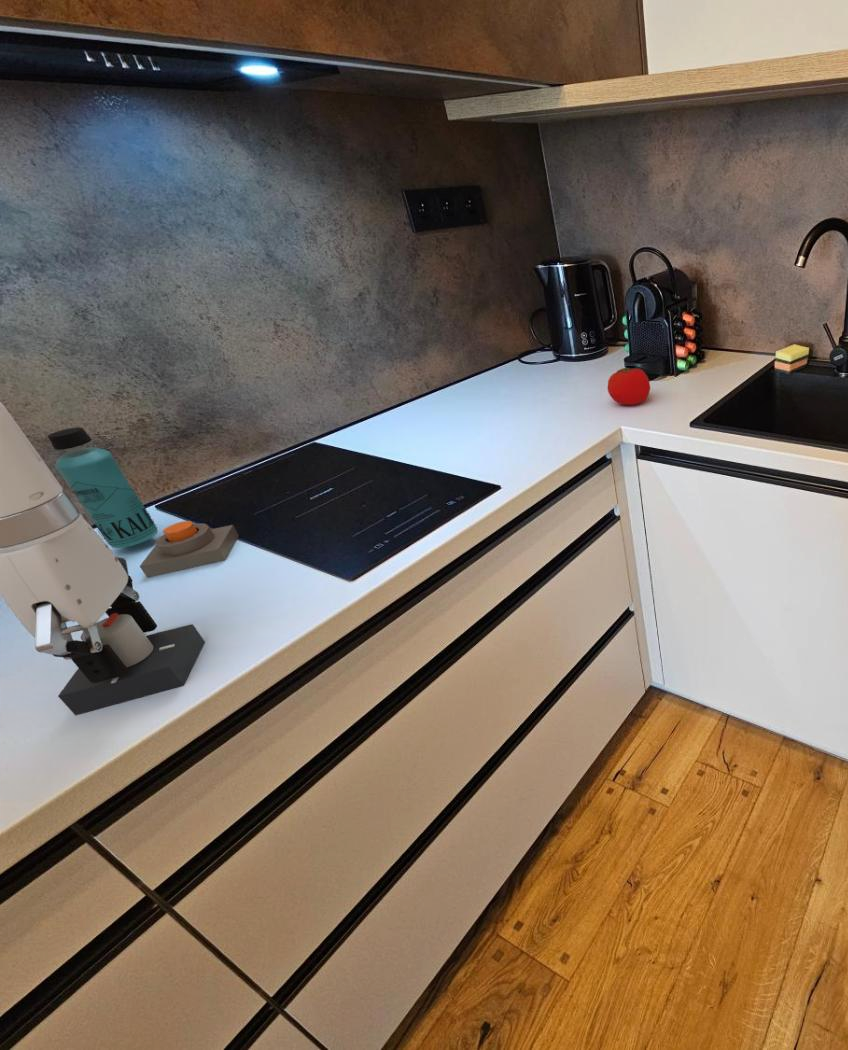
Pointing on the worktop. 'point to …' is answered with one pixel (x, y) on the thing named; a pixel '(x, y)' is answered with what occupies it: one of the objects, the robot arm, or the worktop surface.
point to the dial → (124, 638)
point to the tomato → (629, 386)
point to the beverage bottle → (102, 490)
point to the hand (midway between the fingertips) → (126, 653)
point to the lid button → (180, 531)
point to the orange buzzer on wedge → (190, 550)
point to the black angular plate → (139, 673)
